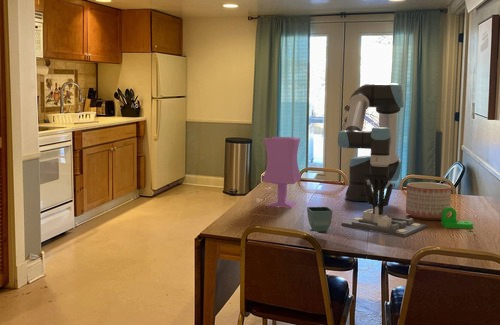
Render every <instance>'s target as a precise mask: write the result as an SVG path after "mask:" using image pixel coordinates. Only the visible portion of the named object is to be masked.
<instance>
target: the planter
mask: <svg viewBox="0 0 500 325" xmlns="http://www.w3.org/2000/svg"><path fill="white" fill-rule="evenodd" d="M451 197H452V186H451V185H449V184H446V183H445V184H444V183H437V182H429V181H428V182H427V181H426V182H424V181H421V182H418V181H415V182H408V183H407V184H406V198H405V199H406V202H405V213H406V214H408V215H409V217H410V218H413V219H418V220H422V221H423V220H425V221H441V219H442V211H443V209H444V208H446V207H451V200H452V198H451ZM446 216H447V217H450V216H451V212H450V211H449V212H447V213H446Z"/></svg>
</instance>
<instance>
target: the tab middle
mask: <svg viewBox="0 0 500 325" xmlns="http://www.w3.org/2000/svg"><path fill="white" fill-rule="evenodd" d="M372 209H373V208H369V209H366V210H364V211H362V216H363V219H366V220H372V221H374V218H375V214H373V211H372Z"/></svg>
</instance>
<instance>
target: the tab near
mask: <svg viewBox="0 0 500 325" xmlns="http://www.w3.org/2000/svg"><path fill="white" fill-rule="evenodd" d="M387 216H388V215H387V214H386V215H383V216H382V217H379V218H378V226H382V227H388V228H391V219H392V218H389V217H387Z"/></svg>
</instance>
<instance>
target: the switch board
mask: <svg viewBox="0 0 500 325" xmlns="http://www.w3.org/2000/svg"><path fill="white" fill-rule="evenodd" d="M387 217H389V218H392V219H391V228H388V227H382V226H378V223H374V221H372V220H366V219H363V215H361V216H358V217H355V218H354V217H353V218H352V219H348V220H346V221H342V222H341V223H340V224H341V226H344V227H347V228H349V227H350V228H354V229H358V230H359V229H360V230H365V231H370V232H373V233H374V232H375V233H381V234H387V235H389V236H390V235H391V236H396V237H401V238H405V237H407V236H410V235H412V234H414V233H415V234H416V233H417V232H419V231H421V230H423V229H425V228H428V224H425V223H420V222H414V218H413V217H410V218H408V219H407V218H400V217H394V216H389V215H387Z"/></svg>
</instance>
